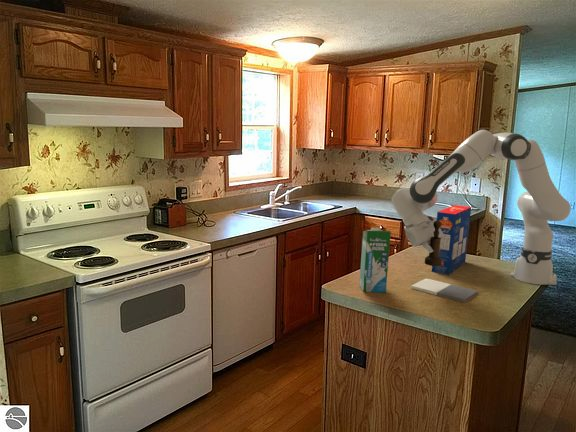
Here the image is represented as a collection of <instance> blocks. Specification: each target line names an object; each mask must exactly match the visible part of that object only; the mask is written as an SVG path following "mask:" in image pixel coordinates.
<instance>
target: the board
mask: <svg viewBox="0 0 576 432" xmlns="http://www.w3.org/2000/svg"><path fill="white" fill-rule="evenodd" d="M410 289H412V290H415V291H420V292H422V293H427V294H431V295H435V296H439V297H442V298H445V299H450V300H453V301H457V302H461V303H466V302H468V301H469V300H470V299H472V298H473V297H475V296H477V295H478V292H479V290H475V289H472V288H468V287H463V286H460V285H455V284H451V283H448V282H447V283H446V282H443V281H439V280H438V281H437V280H435V279H434V280H433V279H430V278H424V279H422V280H420V281H418V282H416V283H413V284H412V285H411V286H410Z"/></svg>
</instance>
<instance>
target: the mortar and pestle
mask: <svg viewBox="0 0 576 432" xmlns="http://www.w3.org/2000/svg"><path fill="white" fill-rule="evenodd" d="M433 225H434V228H435V231H434V237H431V241H430V243H429V245H430V246H431V247H433V249H434V252H433V253H429V252H428V255H427V256H425V257H424V264H425V265H427V266H431V267H432V266H441V265H442V259H441V258H440V257H439V250H440V242H441V238H440V237H438V236H439V233H440V232H439V228H440V227H441V222H440V221H437V220H435V221H434V224H433Z"/></svg>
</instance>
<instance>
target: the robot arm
mask: <svg viewBox="0 0 576 432" xmlns="http://www.w3.org/2000/svg"><path fill="white" fill-rule="evenodd" d="M488 156H489V157H492V158H496V159H499V160H510V161H514V163H515V166H516V170H517V174H518V177H519V180H520V183H521V186H522V187H523V189H525V190H526V192H525V191H524V192H523V193H521V194H520V195H519V196H518V197H517V198H518V199H517V202H516V203H517V205H516V206H517V208H518V210H519V211H520V213H521V215H522V216H521V217H522V220H523V225H524V226H523V227H524V235H523V236H524V237H523V243H522V244H523V245H522V247H521V250H520V256H519V257H518V258H516V259H515V260H516V261H515V266H514V270H513V271H512V272H510V273H509V274H510V276H511V277H514V278H515V279H516V280H518V281H521V282H524V283H528V284H533V285H541V286H543V285H545V286H546V285H551V286H552V285H553V286H554V285H555V286H556V285H557V274H556V273H555V272H553V267H554V264H553V262H552V256H553V251H552V246H553V240H554V239H553V238H554V232H553V230H552V229H551V228H550V225H549V222H562V221H564V220H566V219H567V218H568V217H569V216H570V214H571V209H572V208H571V203H570V202H569V201H568V200H567V199H566V198H564V196H563V195H562V194H561V192H560V191H559V190H558V188H557V187H556V186H555V184H554V182H553V180H552V178H551V175H550V172H549V169H548V166H547V163H546V159H545V157H544V153H543V151H542V149H541V147H540V145H539V143H538V142H537V141H536V140H534V139H527V138H526V137H525V136H523V135H522V134H519V133H513V132H509V131H508V132H507V131H506V132H505V131H504V132H494V133H493V132H490V131H489V130H488V129H487V130H486V129H480V130H477V131H476V132H474V133H473V134H471V135H470V136H469V137H467V138H466V139H465V140H464V141H463V142H461V143H460V144H459V145H458V146H457V147H456V149H454V151H452V153H450V155H449V156H447V157H446V158H445V159H444V160H443V161H442V162H440V163H439V164H438V165H437V166H436V167H435V168H433V170H431V171H430V172H429V173H427V174H425V175H423V176H421V177H418V178H416V179H415V180H413V181H412V183H411V185H410V187H409V188H405V187H401V188H400V189H397V190H396V191H395V192H394V193H393V195H392V196H391V204H392V207H393V208H394V210H395V211H396V213H397V214H398V216H399V217H400V218H401V219H402V222H403V223H404V225H405V226H404V229H403V230H404V232H405V235H406V238H407V240H408V242H409V243H410V244H411V246H412V247H419V246H422V247H423V248H424V249H425V250H427V252H428V254H429V253H433V252H434V249H433V247H431V246H430V241H431V237H434V231H435V228H434V225H433V224H434V222H435V221H436V219H435V218H434V217H433V216H431V215H427V214H425V213H424V212H423V211H427V210H428V209H430V208H433V207H434V206H435V205H436V203H437V200H438V196H437V195H438V194H437V191H438V189H439V187H440V186H441V185H442V184H443V183H444V182H446V181H447V180H448V179H449V178H450V177H451V176H452V175H453V174H455V173H459V172H460V173H469V172H471V171H472V170H473V169H475V168H476V167H478V165H480V164H481V163H482V162H483V161H484V159H486V158H487V157H488ZM439 232H440V233H439V236H438V237H440V238H441V239H442V238H443V237H444V234H443V232H442V231H441V229H440V228H439ZM440 250H441V247H440ZM440 250H439V251H440Z"/></svg>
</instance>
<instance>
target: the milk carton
mask: <svg viewBox="0 0 576 432" xmlns="http://www.w3.org/2000/svg"><path fill="white" fill-rule="evenodd" d="M391 234H392V233H391V230H382V228H380V227H371V228H370V230H363V231H362V242H361V257H360V272H359V274H360V275H359V286H360V288H361V291H362V292H364V293H387V281H388V271H389V269H388V268H389V260H390V259H389V258H390V257H389V256H390V245H391V244H390V243H391Z"/></svg>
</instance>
